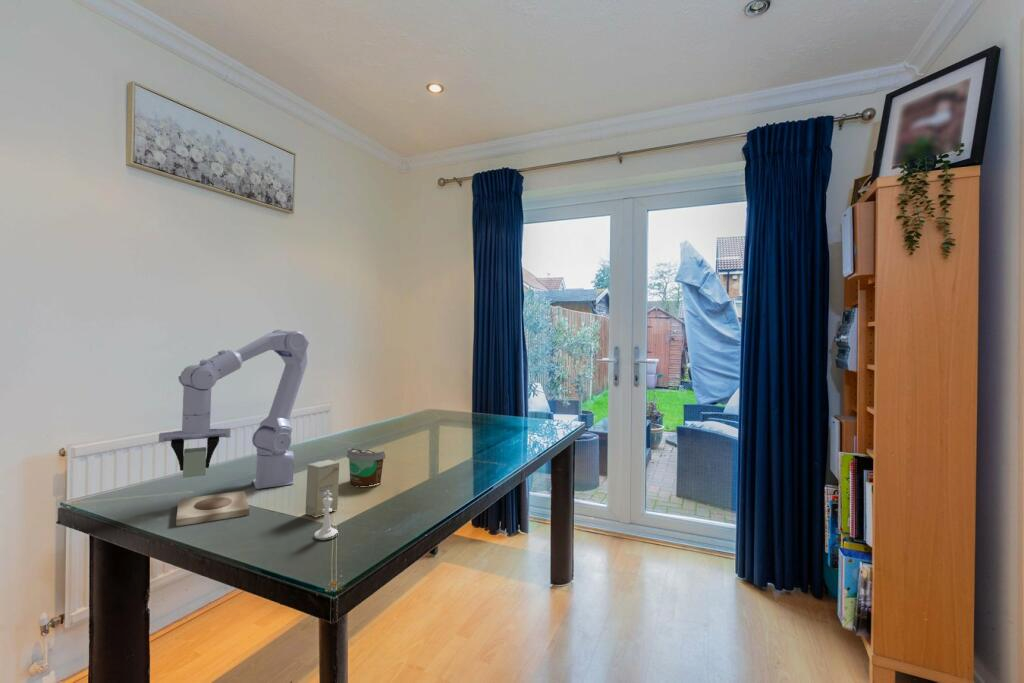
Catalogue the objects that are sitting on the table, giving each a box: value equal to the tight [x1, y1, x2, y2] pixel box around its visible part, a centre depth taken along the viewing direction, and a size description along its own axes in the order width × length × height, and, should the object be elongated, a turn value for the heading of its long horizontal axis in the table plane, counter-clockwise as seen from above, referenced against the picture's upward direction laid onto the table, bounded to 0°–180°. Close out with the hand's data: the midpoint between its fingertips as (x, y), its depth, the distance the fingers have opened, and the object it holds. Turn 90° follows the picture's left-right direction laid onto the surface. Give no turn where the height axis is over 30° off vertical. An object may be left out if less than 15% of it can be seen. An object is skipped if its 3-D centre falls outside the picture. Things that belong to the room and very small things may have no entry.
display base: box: [175, 490, 250, 527], centre depth 111 cm, size 14×14×2 cm
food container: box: [346, 445, 386, 488], centre depth 134 cm, size 12×6×10 cm, turn 68°
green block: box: [182, 446, 207, 479], centre depth 114 cm, size 4×4×6 cm
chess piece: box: [313, 490, 339, 538], centre depth 100 cm, size 5×5×10 cm
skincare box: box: [305, 459, 340, 517], centre depth 112 cm, size 6×4×12 cm
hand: (194, 468), depth 114 cm, fingers closed on green block, 4 cm apart
